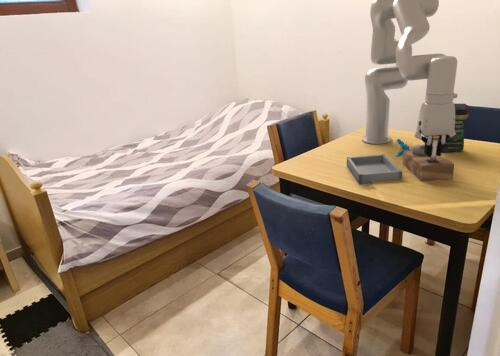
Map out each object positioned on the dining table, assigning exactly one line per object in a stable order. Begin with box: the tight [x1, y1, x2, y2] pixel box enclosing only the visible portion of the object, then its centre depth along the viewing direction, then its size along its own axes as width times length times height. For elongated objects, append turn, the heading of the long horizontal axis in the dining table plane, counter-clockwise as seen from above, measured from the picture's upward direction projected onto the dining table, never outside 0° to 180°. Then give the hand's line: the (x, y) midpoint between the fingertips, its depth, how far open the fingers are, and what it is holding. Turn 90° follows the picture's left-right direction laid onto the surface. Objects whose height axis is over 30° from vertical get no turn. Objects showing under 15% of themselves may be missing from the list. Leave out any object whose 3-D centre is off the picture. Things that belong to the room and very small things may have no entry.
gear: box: [395, 138, 412, 158], centre depth 141 cm, size 11×6×10 cm
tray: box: [346, 153, 403, 185], centre depth 129 cm, size 18×14×4 cm
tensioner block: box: [402, 144, 455, 182], centre depth 124 cm, size 16×10×9 cm, turn 179°
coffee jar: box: [441, 103, 469, 154], centre depth 140 cm, size 10×8×19 cm
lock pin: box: [428, 135, 440, 163], centre depth 119 cm, size 3×3×13 cm
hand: (432, 154), depth 119 cm, fingers closed on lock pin, 2 cm apart
